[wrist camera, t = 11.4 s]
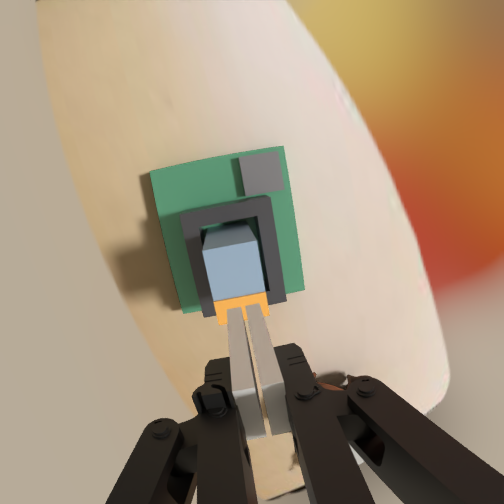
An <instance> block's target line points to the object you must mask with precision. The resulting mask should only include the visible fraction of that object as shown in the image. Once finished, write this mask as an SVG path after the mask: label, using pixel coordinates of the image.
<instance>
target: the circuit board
mask: <svg viewBox="0 0 504 504" xmlns="http://www.w3.org/2000/svg"><path fill="white" fill-rule="evenodd" d="M150 177H151V182H152V187H153V192H154V197H155V202H156V207H157V211H158V216H159V221H160V225H161V229H162V234H163V238H164V242H165V247H166V251H167V255H168V259H169V263H170V267H171V271H172V275H173V278H174V282H175V286H176V290H177V293H178V297H179V301H180V304H181V308H182V311H183V314H185V313H191V312H196V311H202V313H203V316H204V318H205V317H210V316H216V311H215V306H214V301H213V297H212V292H211V288H210V284H209V279H208V275H207V270H206V266H205V261H204V257H203V252H202V250H203V245H204V241H205V237H206V233H207V229H208V228H210V227H215V226H220V225H225V224H231V223H236V222H241V221H246V222H247V224H248V225H249V227H250V229H251V231H252V233H253V234H254V236H255V238H256V240H257V244H258V250H259V256H260V262H261V268H262V274H263V280H264V286H265V292H266V297H267V303H268V305H272V304H277V303H281V302H286V301H287V299H286V294H288V293H293V292H297V291H302V290H305V287H304V279H303V271H302V263H301V256H300V248H299V241H298V234H297V227H296V220H295V213H294V207H293V200H292V194H291V188H290V181H289V175H288V169H287V163H286V158H285V152H284V146H278V147H271V148H264V149H258V150H252V151H246V152H240V153H234V154H228V155H223V156H218V157H212V158H207V159H202V160H198V161H193V162H188V163H184V164H179V165H175V166H170V167H166V168H162V169H158V170H153V171H150Z"/></svg>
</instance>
